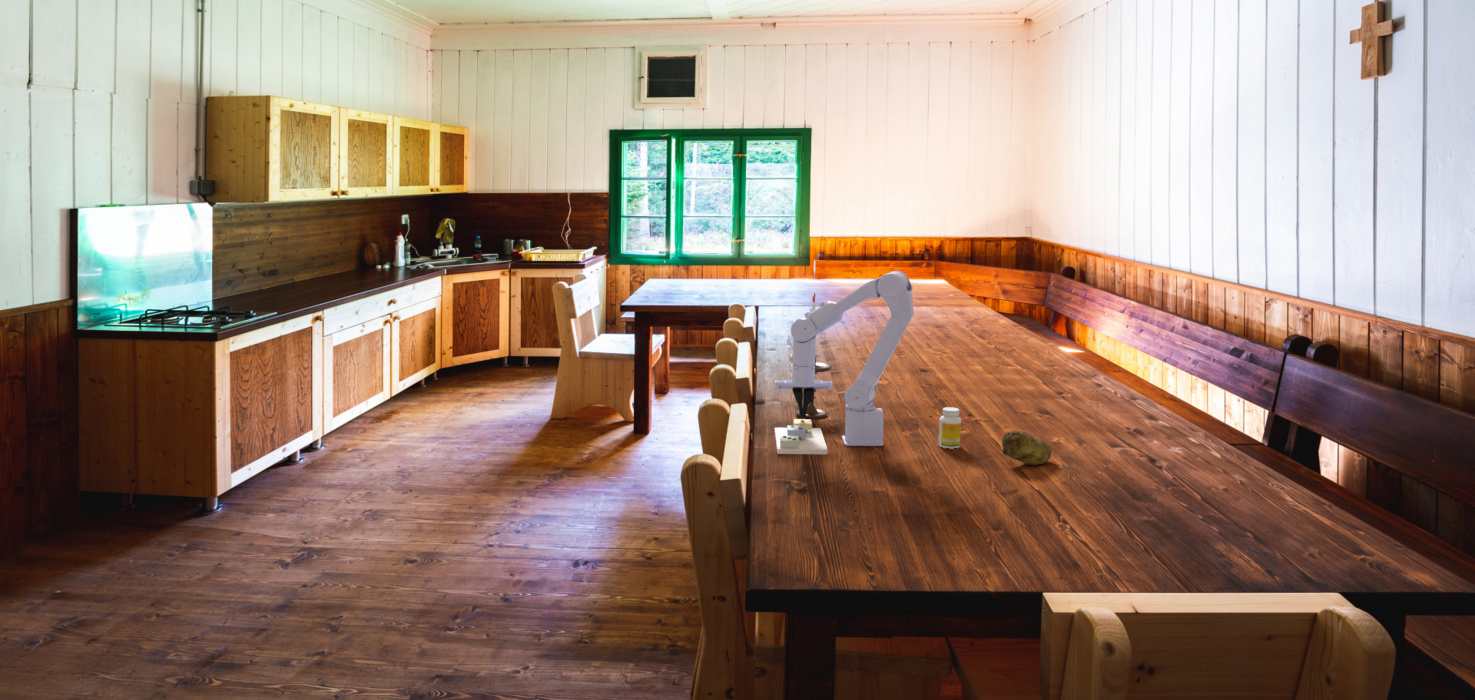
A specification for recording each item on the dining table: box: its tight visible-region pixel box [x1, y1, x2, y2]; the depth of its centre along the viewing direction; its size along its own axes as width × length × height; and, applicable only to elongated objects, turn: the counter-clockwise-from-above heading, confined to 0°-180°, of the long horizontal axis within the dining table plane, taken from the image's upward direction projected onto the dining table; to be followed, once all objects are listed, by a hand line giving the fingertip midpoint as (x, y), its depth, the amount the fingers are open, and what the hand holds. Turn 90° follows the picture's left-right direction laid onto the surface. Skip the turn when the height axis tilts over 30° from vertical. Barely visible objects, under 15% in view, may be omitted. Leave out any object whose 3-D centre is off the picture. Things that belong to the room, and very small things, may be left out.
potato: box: [1001, 430, 1053, 466], centre depth 207 cm, size 8×13×8 cm, turn 95°
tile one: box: [792, 418, 813, 430], centre depth 229 cm, size 4×4×2 cm
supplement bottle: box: [937, 406, 962, 450], centre depth 221 cm, size 5×5×10 cm
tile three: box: [780, 436, 799, 448], centre depth 216 cm, size 4×4×2 cm
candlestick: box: [794, 291, 833, 420], centre depth 249 cm, size 11×11×35 cm
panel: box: [774, 427, 828, 455], centre depth 224 cm, size 12×20×2 cm, turn 0°
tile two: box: [786, 424, 806, 437], centre depth 223 cm, size 4×4×2 cm
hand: (802, 416), depth 229 cm, fingers closed
